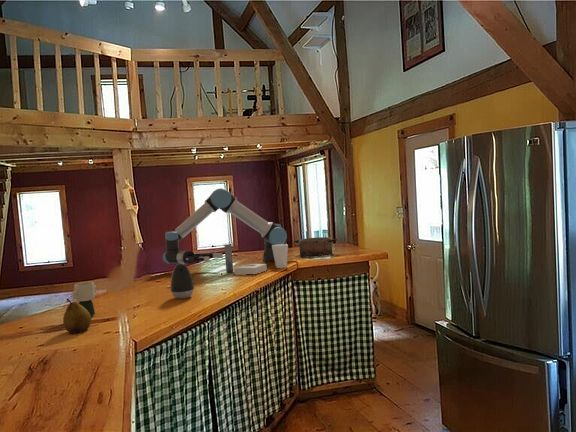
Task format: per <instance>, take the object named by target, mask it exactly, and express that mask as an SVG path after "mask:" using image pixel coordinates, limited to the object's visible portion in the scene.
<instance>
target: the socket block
mask: <svg viewBox="0 0 576 432" xmlns="http://www.w3.org/2000/svg"><path fill="white" fill-rule="evenodd" d="M267 268H268V267H267V263H245V264H242V265H239V266H236V267H234V274H235V275H234V276H247V275H246V274H257V273H260V272H263V271H265V272H267V271H268V269H267ZM266 270H267V271H266ZM263 273H264V272H263ZM260 274H261V273H260ZM257 275H258V274H257Z"/></svg>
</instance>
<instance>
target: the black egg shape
mask: <svg viewBox="0 0 576 432" xmlns="http://www.w3.org/2000/svg"><path fill="white" fill-rule="evenodd" d="M170 279H171V280H170V292H171V294H172V296H173V297H174V298H175V299H177V300H183V299H187V298H189V297H192V295H193V293H194V290H195V284H194V280H193V277H192V274H191V271H190V269H189V268H188V266H187V264H175V266H174V268H173V271H172V274H171V278H170Z"/></svg>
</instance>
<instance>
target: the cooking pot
mask: <svg viewBox="0 0 576 432" xmlns="http://www.w3.org/2000/svg"><path fill="white" fill-rule="evenodd" d="M336 241H338V240H337V238H332V237H327V236H325V237H323V236H322V237H321V236H320V237H308V238H307V237H306V238H300V239H295V240H294V241H293V242H294V243H295V244H296V243H297V244H298V246H299V256H300V257H303V256H318V257H323V256H322V255H327V256H330V255H329V254H331V255H332V254H333V243H334V242H336Z"/></svg>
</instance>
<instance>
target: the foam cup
mask: <svg viewBox="0 0 576 432" xmlns="http://www.w3.org/2000/svg"><path fill="white" fill-rule="evenodd" d="M272 250H273V255H274V260H275V261H274V264H275V268H277V269H284V268H287V266H288V250H289V245H288V244H287V243H284V244H277V245H272Z"/></svg>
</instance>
